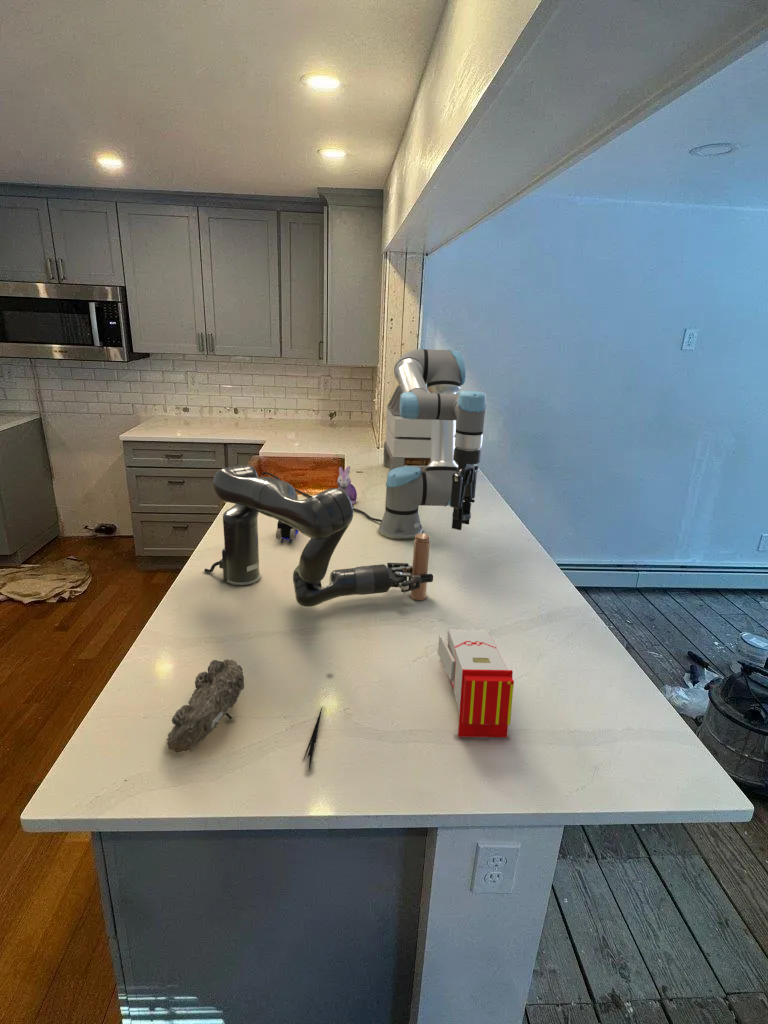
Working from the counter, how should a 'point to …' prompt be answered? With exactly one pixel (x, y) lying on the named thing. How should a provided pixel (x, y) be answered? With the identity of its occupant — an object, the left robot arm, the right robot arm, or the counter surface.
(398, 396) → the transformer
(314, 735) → the feather
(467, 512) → the lid
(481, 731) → the toy
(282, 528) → the black wheeled rover
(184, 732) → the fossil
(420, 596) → the jar
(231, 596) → the counter surface
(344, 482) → the figurine
